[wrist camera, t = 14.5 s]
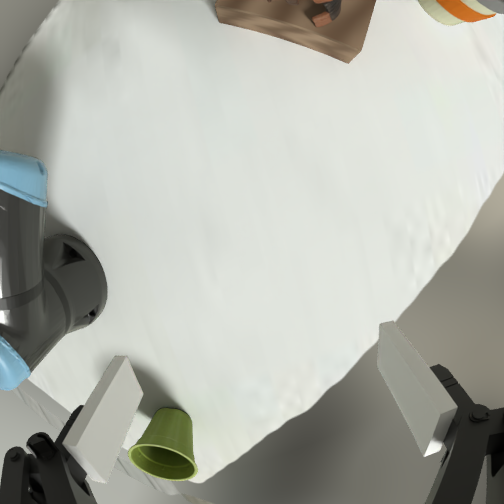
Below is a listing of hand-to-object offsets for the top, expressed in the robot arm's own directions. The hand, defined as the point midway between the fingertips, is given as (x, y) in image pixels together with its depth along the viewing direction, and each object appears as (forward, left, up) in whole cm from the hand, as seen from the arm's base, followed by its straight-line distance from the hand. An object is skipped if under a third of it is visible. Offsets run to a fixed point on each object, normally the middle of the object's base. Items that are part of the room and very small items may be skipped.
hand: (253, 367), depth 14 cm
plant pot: (-20, -32, -27) cm, 46 cm away
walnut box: (+11, +31, -27) cm, 43 cm away
